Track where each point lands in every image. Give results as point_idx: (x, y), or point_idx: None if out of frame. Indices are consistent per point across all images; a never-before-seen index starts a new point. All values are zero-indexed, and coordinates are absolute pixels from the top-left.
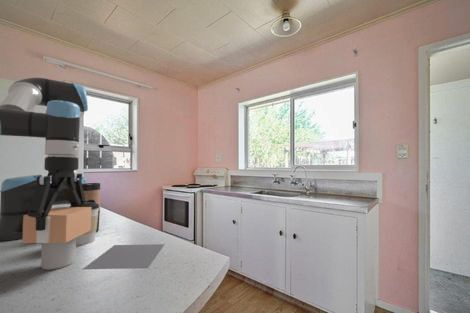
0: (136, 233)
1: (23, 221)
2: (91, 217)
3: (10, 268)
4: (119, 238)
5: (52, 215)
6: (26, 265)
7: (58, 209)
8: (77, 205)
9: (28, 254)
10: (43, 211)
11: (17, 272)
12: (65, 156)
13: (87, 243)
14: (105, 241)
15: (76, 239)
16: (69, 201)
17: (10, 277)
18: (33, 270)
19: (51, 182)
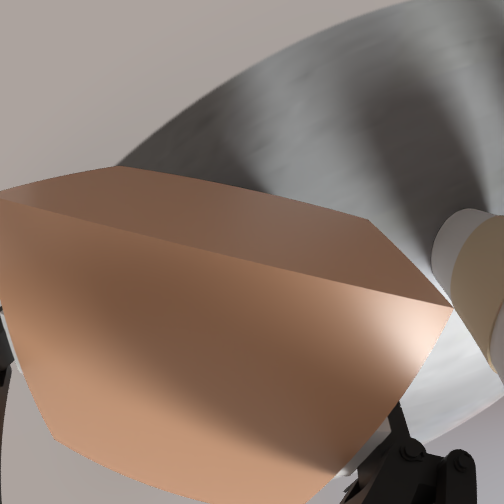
0: (468, 390)
1: (27, 185)
2: (489, 364)
3: (266, 75)
4: (453, 359)
5: (31, 390)
6: (282, 117)
7: (240, 405)
8: (357, 483)
9: (405, 72)
10: (125, 293)
11: (219, 123)
12: None
13: (437, 280)
14: (449, 325)
15: (448, 250)
16: (360, 501)
17: (183, 127)
18: (223, 172)
19: None
